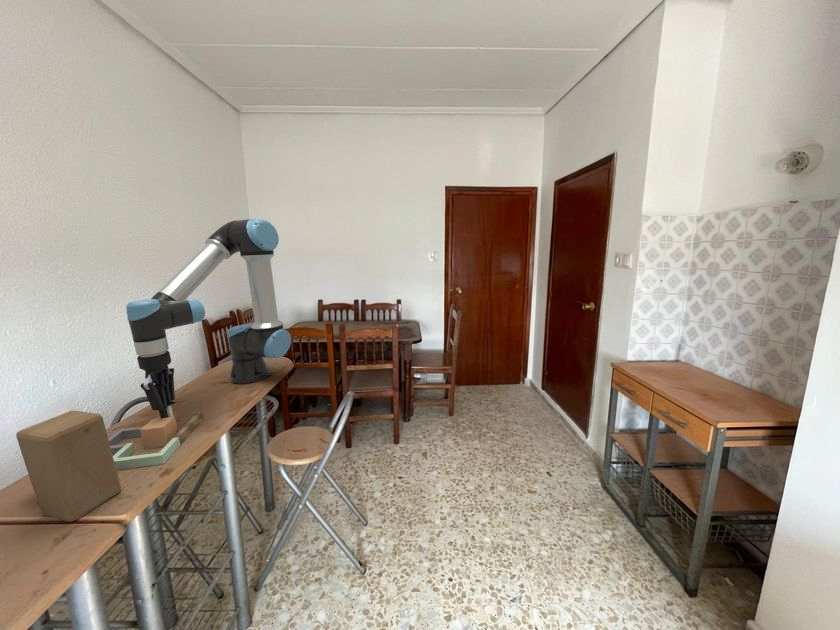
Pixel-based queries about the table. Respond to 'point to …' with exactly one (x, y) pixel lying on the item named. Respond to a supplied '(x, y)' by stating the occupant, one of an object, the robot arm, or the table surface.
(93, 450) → the wooden block
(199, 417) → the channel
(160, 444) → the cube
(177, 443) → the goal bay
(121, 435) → the trap bay
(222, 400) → the table surface
